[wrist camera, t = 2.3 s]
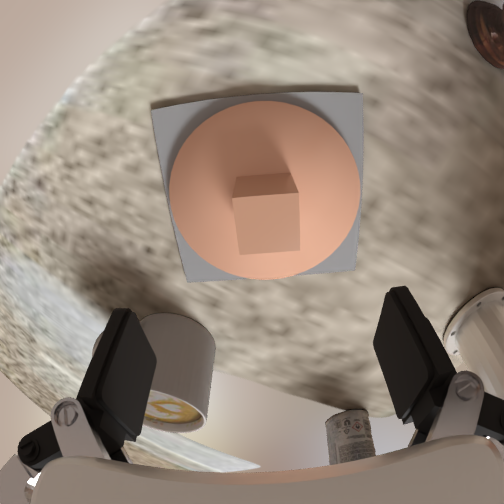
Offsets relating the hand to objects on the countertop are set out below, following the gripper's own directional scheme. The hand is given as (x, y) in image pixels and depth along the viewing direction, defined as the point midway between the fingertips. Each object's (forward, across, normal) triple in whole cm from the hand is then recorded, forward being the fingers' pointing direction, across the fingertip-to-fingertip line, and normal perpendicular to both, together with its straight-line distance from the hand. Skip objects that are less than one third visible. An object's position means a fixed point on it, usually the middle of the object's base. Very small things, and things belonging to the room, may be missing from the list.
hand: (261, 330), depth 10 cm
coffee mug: (+15, +12, +16) cm, 26 cm away
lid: (+14, -1, 0) cm, 15 cm away
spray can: (+14, -13, +42) cm, 47 cm away
